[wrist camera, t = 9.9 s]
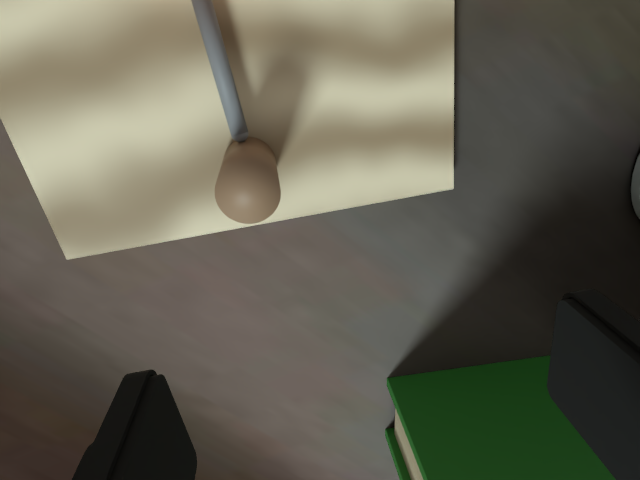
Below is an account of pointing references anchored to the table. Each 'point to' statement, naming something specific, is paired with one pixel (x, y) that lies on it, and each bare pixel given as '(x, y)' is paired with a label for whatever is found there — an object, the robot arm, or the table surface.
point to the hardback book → (486, 426)
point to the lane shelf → (207, 111)
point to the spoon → (238, 139)
